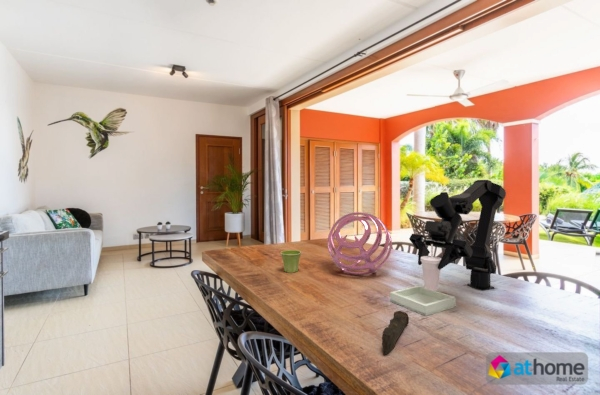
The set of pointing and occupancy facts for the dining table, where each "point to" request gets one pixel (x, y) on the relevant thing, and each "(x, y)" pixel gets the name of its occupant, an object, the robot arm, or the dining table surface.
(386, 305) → the dining table surface
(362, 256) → the pink openwork sphere
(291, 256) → the plant pot
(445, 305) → the sage tray
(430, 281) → the smoothie
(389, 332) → the hand tool
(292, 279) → the dining table surface
